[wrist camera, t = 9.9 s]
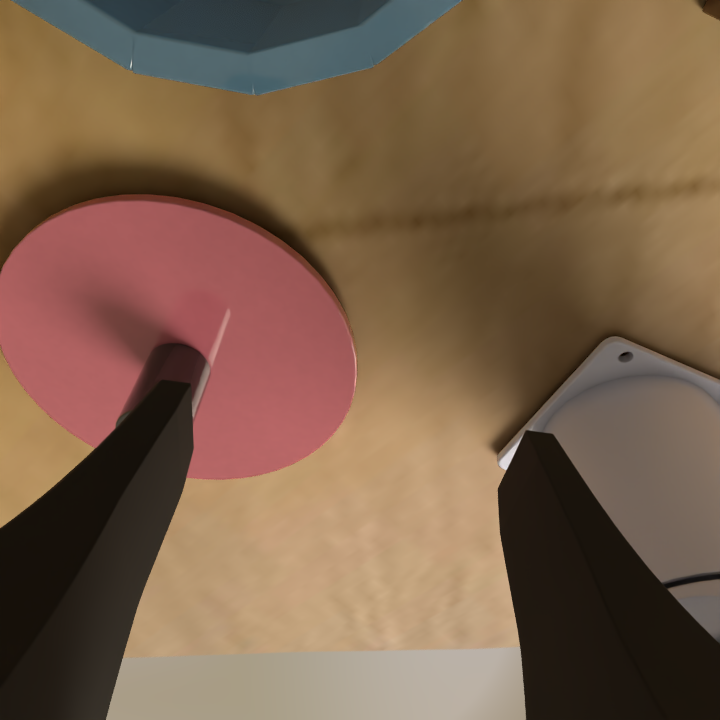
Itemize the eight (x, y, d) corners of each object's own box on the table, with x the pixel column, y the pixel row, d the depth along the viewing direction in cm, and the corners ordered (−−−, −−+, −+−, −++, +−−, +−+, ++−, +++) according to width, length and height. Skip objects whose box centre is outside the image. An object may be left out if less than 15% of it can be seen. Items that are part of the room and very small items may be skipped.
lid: (388, 223, 20) (387, 303, 16) (333, 479, 29) (325, 568, 25) (-34, 151, 19) (-133, 220, 15) (41, 438, 28) (-11, 525, 24)
